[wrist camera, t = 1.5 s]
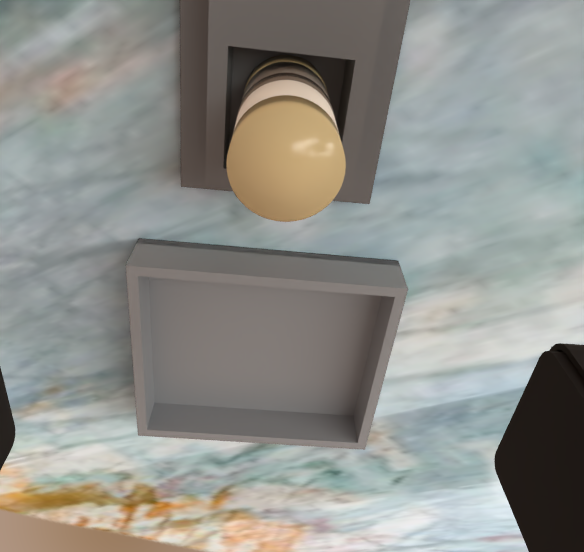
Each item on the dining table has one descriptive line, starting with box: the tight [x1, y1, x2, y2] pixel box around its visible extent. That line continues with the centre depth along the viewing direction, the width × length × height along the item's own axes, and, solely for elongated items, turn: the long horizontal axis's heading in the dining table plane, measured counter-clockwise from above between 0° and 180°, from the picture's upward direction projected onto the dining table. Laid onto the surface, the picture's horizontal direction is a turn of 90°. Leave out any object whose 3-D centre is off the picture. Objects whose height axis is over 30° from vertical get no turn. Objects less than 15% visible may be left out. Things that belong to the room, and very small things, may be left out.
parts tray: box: [126, 238, 408, 449], centre depth 33 cm, size 15×13×3 cm
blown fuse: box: [227, 55, 346, 222], centre depth 22 cm, size 4×4×9 cm
